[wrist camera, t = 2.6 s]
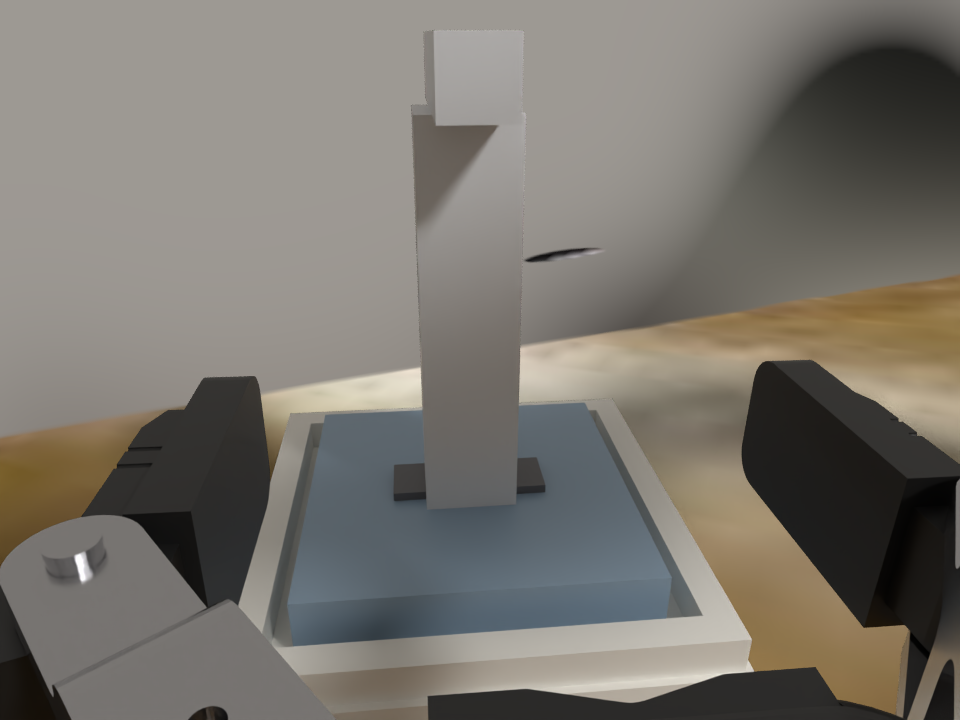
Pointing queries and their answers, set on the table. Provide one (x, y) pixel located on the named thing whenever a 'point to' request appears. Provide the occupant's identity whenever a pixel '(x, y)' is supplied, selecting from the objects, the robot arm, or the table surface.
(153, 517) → the robot arm
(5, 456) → the table surface
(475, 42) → the snap cover
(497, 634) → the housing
